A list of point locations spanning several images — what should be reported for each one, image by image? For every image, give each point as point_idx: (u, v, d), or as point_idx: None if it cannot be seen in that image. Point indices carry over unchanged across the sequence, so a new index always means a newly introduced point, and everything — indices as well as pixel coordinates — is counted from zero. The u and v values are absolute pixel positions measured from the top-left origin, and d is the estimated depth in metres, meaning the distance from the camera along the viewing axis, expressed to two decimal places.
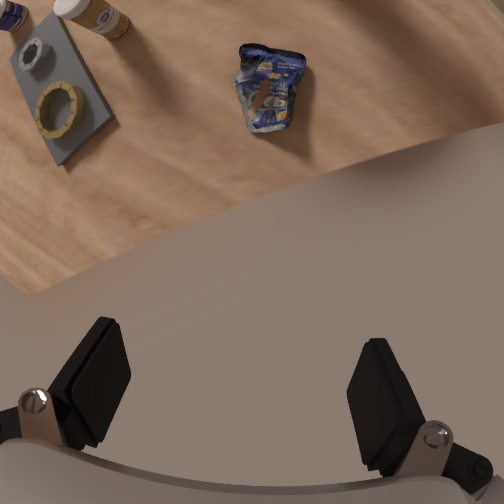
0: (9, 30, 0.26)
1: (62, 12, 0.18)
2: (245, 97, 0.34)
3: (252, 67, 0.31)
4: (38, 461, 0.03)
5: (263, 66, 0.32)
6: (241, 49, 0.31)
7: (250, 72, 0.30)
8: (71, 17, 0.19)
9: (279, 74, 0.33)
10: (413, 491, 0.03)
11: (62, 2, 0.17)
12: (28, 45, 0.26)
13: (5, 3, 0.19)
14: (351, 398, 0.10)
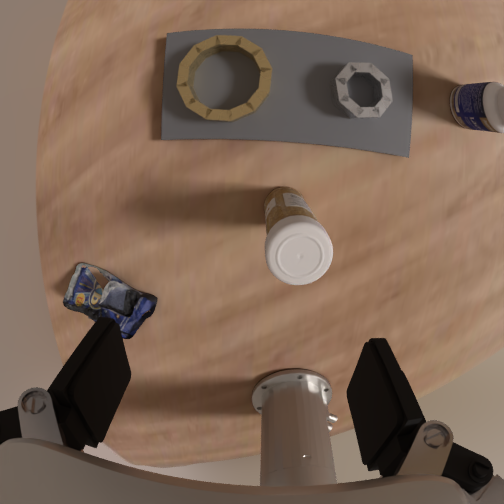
0: (459, 88, 0.23)
1: (281, 236, 0.19)
2: (106, 276, 0.35)
3: (124, 302, 0.34)
4: (37, 460, 0.03)
5: None
6: (155, 296, 0.36)
7: (115, 301, 0.33)
8: (270, 231, 0.20)
9: None
10: (413, 491, 0.03)
11: (305, 246, 0.19)
12: (385, 95, 0.23)
13: (496, 129, 0.20)
14: (351, 398, 0.10)
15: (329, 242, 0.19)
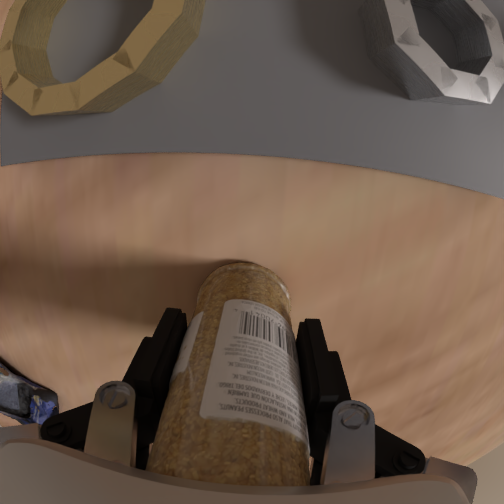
0: None
1: None
2: None
3: (19, 398, 0.17)
4: (38, 461, 0.03)
5: None
6: (53, 392, 0.19)
7: (5, 399, 0.16)
8: None
9: None
10: (413, 491, 0.03)
11: None
12: (494, 55, 0.06)
13: None
14: None
15: None
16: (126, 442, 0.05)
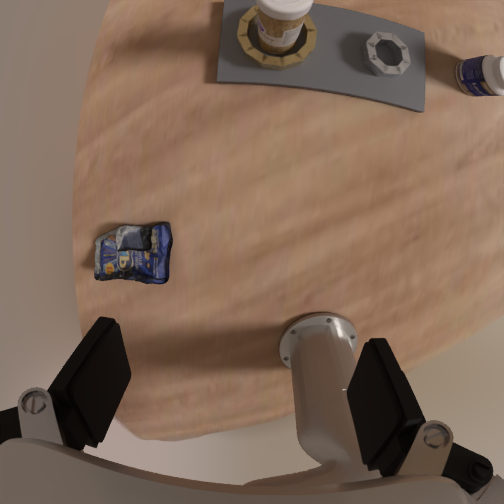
0: (462, 61, 0.26)
1: None
2: None
3: (142, 240, 0.37)
4: (38, 461, 0.03)
5: (153, 244, 0.39)
6: None
7: (132, 242, 0.36)
8: None
9: (148, 259, 0.40)
10: (413, 491, 0.03)
11: None
12: (405, 59, 0.25)
13: (494, 91, 0.22)
14: (351, 398, 0.10)
15: None
16: (57, 440, 0.05)
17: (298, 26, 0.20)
